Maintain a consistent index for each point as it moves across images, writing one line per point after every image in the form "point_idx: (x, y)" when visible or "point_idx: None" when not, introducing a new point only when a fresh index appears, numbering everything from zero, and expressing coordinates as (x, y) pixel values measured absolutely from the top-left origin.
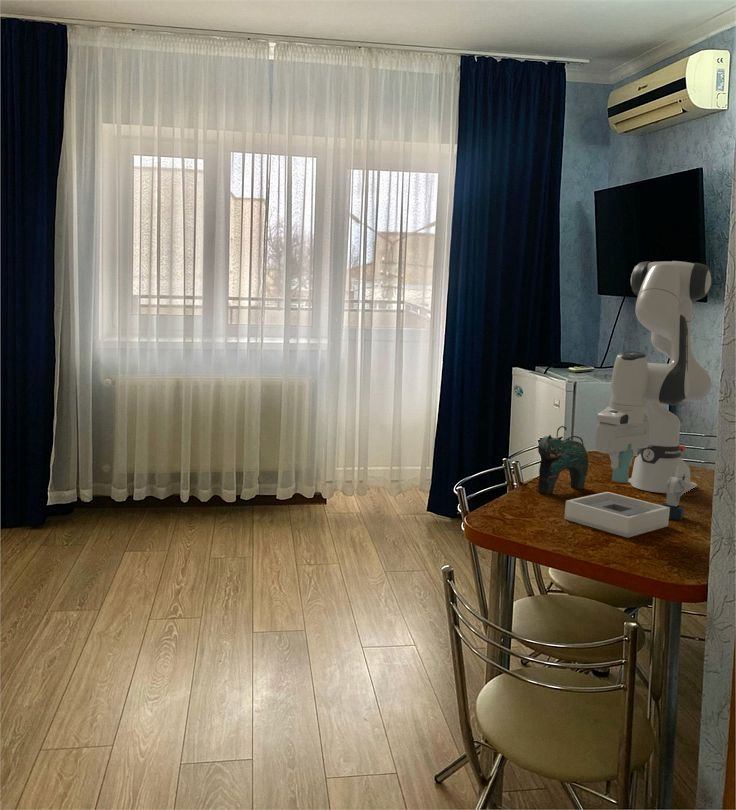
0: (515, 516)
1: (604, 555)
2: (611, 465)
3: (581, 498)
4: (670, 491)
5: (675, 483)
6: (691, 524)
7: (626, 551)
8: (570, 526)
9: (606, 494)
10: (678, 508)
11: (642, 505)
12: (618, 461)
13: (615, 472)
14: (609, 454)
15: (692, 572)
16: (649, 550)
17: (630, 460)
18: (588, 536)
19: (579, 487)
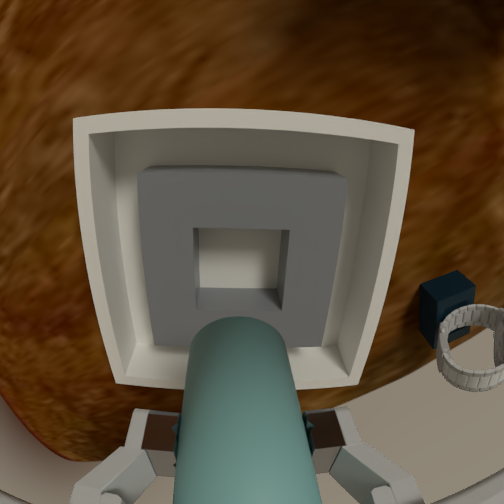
0: (12, 34)
1: (9, 358)
2: (131, 420)
3: (173, 123)
4: (445, 367)
5: (468, 387)
6: (401, 359)
7: (59, 376)
8: (59, 190)
9: (383, 141)
10: (437, 341)
11: (363, 301)
12: (150, 479)
13: (184, 390)
14: (76, 489)
15: (98, 454)
16: (109, 400)
17: (324, 471)
18: (43, 280)
19: None
